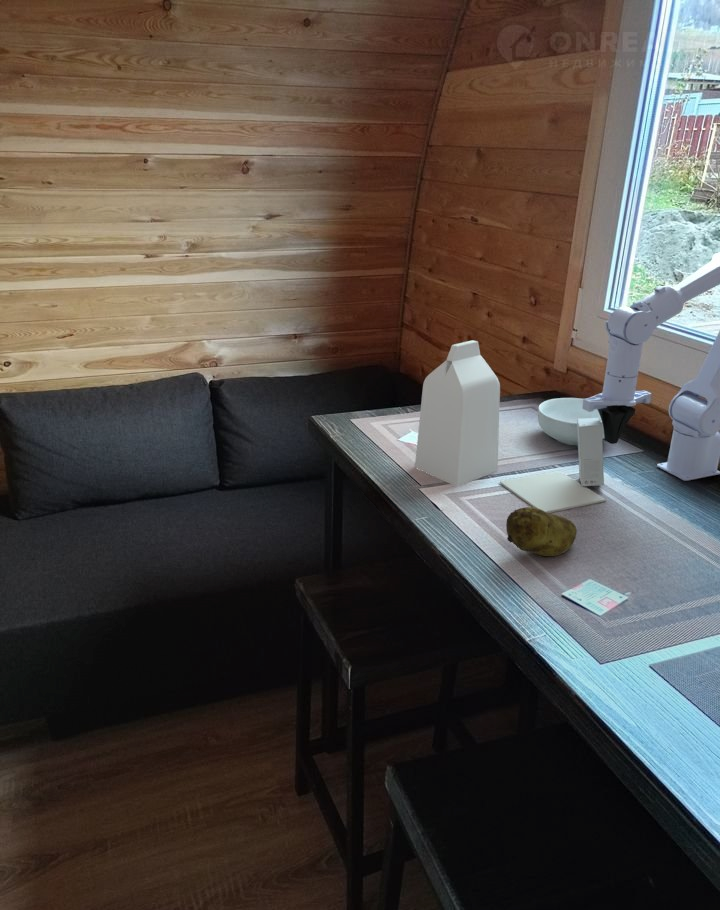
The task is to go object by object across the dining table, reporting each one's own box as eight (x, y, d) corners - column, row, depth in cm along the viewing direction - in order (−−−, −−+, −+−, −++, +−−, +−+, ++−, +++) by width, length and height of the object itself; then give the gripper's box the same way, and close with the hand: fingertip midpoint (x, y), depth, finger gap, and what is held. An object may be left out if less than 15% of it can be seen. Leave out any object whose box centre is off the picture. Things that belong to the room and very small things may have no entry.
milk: (457, 486, 148) (466, 355, 138) (414, 467, 156) (420, 342, 146) (497, 470, 155) (509, 344, 145) (454, 453, 163) (463, 332, 153)
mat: (558, 472, 155) (559, 470, 155) (605, 501, 143) (605, 499, 143) (499, 483, 150) (499, 481, 150) (543, 514, 138) (543, 512, 138)
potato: (588, 562, 123) (595, 517, 120) (511, 567, 121) (515, 522, 118) (568, 537, 130) (574, 494, 127) (494, 541, 129) (498, 498, 126)
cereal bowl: (553, 420, 183) (556, 392, 180) (622, 436, 174) (627, 407, 172) (522, 441, 170) (525, 411, 168) (595, 460, 162) (600, 428, 159)
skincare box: (604, 485, 147) (602, 424, 143) (581, 487, 148) (578, 426, 144) (601, 475, 152) (598, 416, 149) (579, 476, 153) (576, 418, 150)
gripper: (604, 383, 137) (594, 454, 142) (667, 375, 142) (655, 443, 147) (579, 372, 143) (570, 441, 148) (640, 365, 148) (629, 431, 153)
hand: (610, 441), depth 148 cm, fingers closed
